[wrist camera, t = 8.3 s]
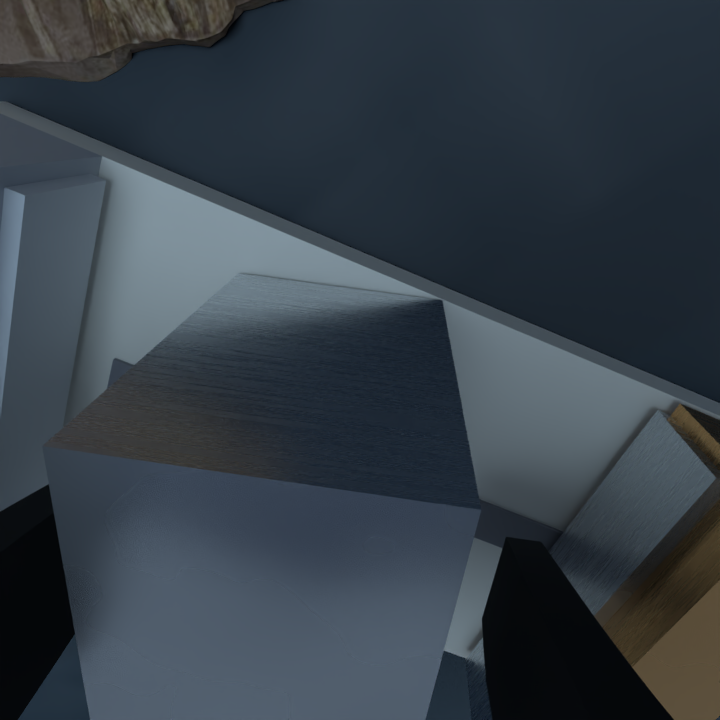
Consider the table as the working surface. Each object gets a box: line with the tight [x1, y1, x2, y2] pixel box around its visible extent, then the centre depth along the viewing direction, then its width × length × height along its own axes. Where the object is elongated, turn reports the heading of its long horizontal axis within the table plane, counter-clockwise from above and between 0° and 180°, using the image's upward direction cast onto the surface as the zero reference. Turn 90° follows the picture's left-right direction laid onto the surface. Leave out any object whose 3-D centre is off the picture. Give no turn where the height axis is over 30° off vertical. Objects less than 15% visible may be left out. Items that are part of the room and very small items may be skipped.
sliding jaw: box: [465, 404, 720, 720], centre depth 11 cm, size 2×9×3 cm, turn 158°
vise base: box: [0, 101, 720, 658], centre depth 11 cm, size 18×9×4 cm, turn 68°
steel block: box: [42, 273, 481, 720], centre depth 9 cm, size 4×8×6 cm, turn 174°
